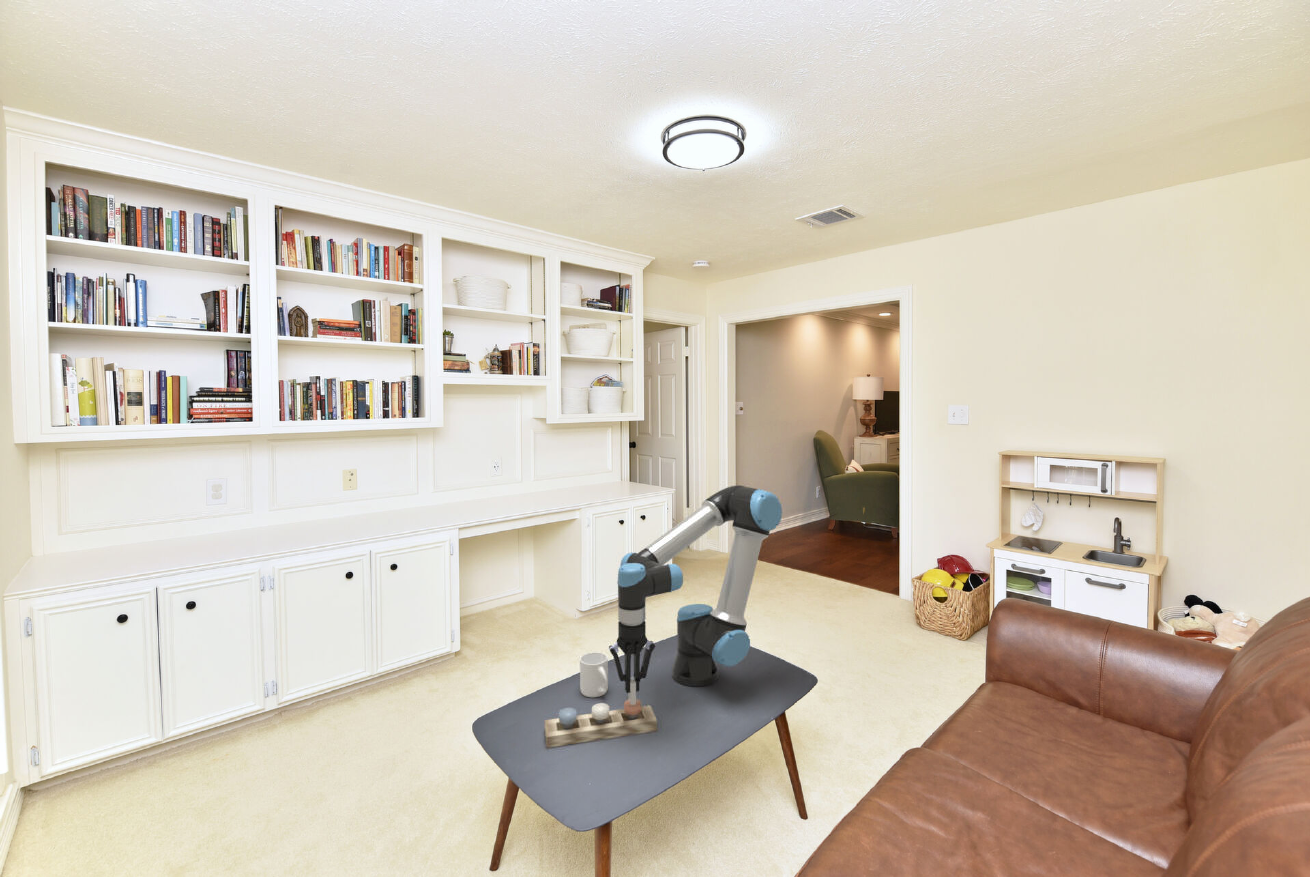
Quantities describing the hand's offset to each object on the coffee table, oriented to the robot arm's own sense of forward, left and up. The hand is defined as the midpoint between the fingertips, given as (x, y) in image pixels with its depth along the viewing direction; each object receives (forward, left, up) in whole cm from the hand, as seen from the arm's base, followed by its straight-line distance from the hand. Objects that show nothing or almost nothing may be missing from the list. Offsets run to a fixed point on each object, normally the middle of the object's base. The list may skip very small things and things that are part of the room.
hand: (632, 702), depth 162 cm
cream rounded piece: (+9, 0, -5) cm, 10 cm away
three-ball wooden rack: (+9, 0, -7) cm, 11 cm away
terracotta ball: (0, 0, -5) cm, 5 cm away
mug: (+7, -20, -7) cm, 22 cm away
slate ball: (+18, 0, -5) cm, 19 cm away
